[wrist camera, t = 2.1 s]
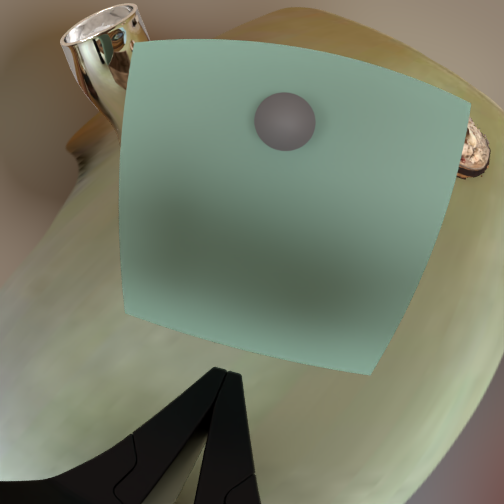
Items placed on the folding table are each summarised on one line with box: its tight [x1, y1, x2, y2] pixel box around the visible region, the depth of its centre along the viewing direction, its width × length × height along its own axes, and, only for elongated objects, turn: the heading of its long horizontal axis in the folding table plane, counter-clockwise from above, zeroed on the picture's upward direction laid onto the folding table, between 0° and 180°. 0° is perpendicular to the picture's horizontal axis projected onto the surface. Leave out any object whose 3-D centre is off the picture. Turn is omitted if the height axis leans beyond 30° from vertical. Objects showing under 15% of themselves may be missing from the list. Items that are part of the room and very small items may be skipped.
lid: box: [119, 39, 471, 375], centre depth 12 cm, size 14×14×2 cm
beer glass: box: [60, 3, 150, 148], centre depth 22 cm, size 7×7×15 cm
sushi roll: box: [456, 117, 490, 179], centre depth 27 cm, size 15×15×4 cm
